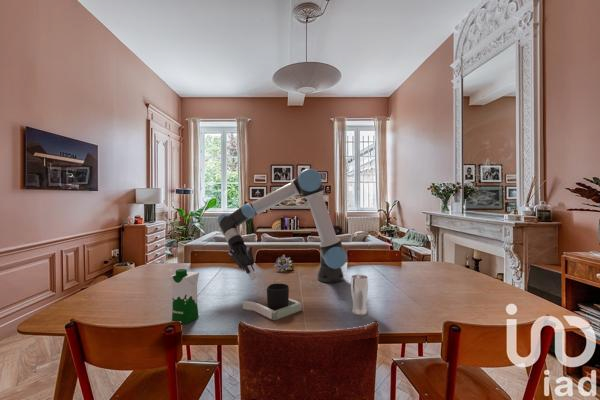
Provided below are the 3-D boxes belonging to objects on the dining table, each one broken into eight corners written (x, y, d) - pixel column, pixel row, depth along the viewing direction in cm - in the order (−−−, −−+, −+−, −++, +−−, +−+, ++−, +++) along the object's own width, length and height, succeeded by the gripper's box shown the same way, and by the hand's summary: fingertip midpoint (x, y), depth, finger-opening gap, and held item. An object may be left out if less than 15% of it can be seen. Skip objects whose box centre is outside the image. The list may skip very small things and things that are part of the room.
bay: (241, 308, 126) (241, 301, 126) (277, 297, 140) (277, 291, 140) (268, 322, 112) (268, 314, 112) (305, 308, 126) (305, 301, 126)
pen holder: (293, 310, 124) (293, 286, 124) (275, 316, 118) (275, 291, 118) (279, 304, 131) (279, 282, 131) (262, 309, 125) (262, 286, 125)
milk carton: (168, 322, 112) (167, 270, 112) (184, 313, 121) (184, 265, 121) (186, 325, 110) (186, 272, 109) (202, 316, 118) (201, 267, 118)
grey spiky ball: (282, 280, 187) (271, 265, 185) (283, 272, 198) (272, 258, 196) (296, 270, 186) (285, 256, 184) (296, 263, 197) (286, 249, 195)
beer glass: (349, 309, 124) (349, 274, 124) (365, 309, 125) (365, 274, 125) (353, 316, 117) (353, 279, 117) (370, 315, 118) (370, 278, 118)
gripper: (242, 242, 155) (261, 279, 143) (220, 245, 146) (238, 285, 134) (248, 233, 151) (268, 271, 139) (225, 235, 142) (245, 276, 130)
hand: (253, 278), depth 137 cm, fingers closed
